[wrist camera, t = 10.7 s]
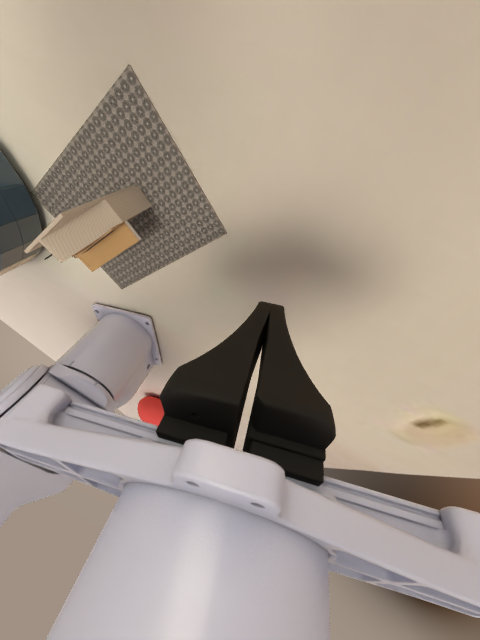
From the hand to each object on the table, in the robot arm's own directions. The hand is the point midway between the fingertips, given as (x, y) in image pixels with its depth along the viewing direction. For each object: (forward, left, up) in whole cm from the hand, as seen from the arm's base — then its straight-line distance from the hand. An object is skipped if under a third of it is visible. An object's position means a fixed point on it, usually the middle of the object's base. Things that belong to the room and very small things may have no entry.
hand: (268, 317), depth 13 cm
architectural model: (+1, +14, -9) cm, 17 cm away
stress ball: (-34, +15, -9) cm, 38 cm away
